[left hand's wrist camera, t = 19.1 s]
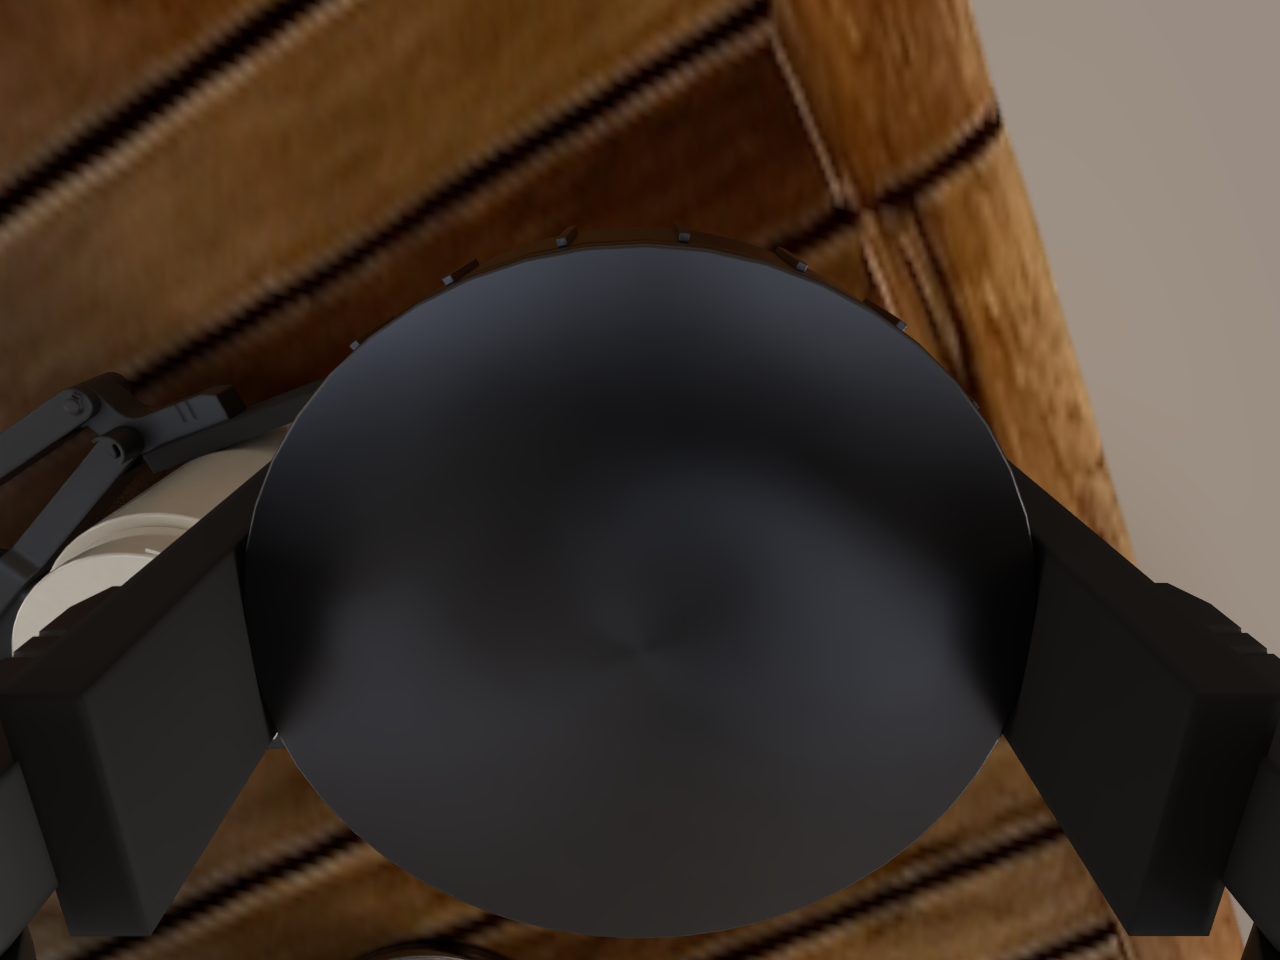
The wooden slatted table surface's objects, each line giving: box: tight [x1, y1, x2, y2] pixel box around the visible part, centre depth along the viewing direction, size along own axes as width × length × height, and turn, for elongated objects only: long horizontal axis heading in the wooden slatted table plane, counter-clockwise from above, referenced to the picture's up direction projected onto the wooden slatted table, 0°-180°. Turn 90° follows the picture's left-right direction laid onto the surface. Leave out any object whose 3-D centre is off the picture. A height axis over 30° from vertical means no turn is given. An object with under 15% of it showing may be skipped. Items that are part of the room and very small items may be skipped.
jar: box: [12, 422, 293, 739], centre depth 31 cm, size 8×8×15 cm
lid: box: [243, 222, 1036, 938], centre depth 11 cm, size 9×9×2 cm
